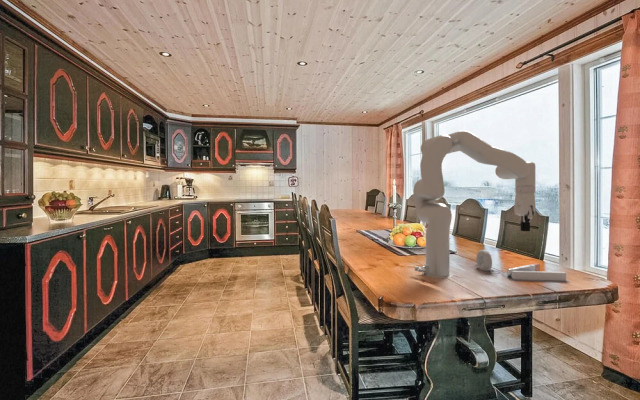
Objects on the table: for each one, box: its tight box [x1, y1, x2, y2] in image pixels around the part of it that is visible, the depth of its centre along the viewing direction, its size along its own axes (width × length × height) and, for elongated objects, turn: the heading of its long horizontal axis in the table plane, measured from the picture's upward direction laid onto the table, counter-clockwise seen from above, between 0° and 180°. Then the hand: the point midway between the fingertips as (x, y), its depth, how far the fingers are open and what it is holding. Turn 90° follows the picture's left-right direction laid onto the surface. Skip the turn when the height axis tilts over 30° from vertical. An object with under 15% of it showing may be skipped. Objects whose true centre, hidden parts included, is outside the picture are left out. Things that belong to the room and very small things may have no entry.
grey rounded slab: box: [475, 249, 493, 272], centre depth 142 cm, size 10×4×10 cm, turn 179°
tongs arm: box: [506, 262, 541, 278], centre depth 133 cm, size 20×2×3 cm, turn 116°
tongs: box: [499, 270, 570, 283], centre depth 129 cm, size 21×12×4 cm, turn 81°
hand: (525, 230), depth 141 cm, fingers closed
